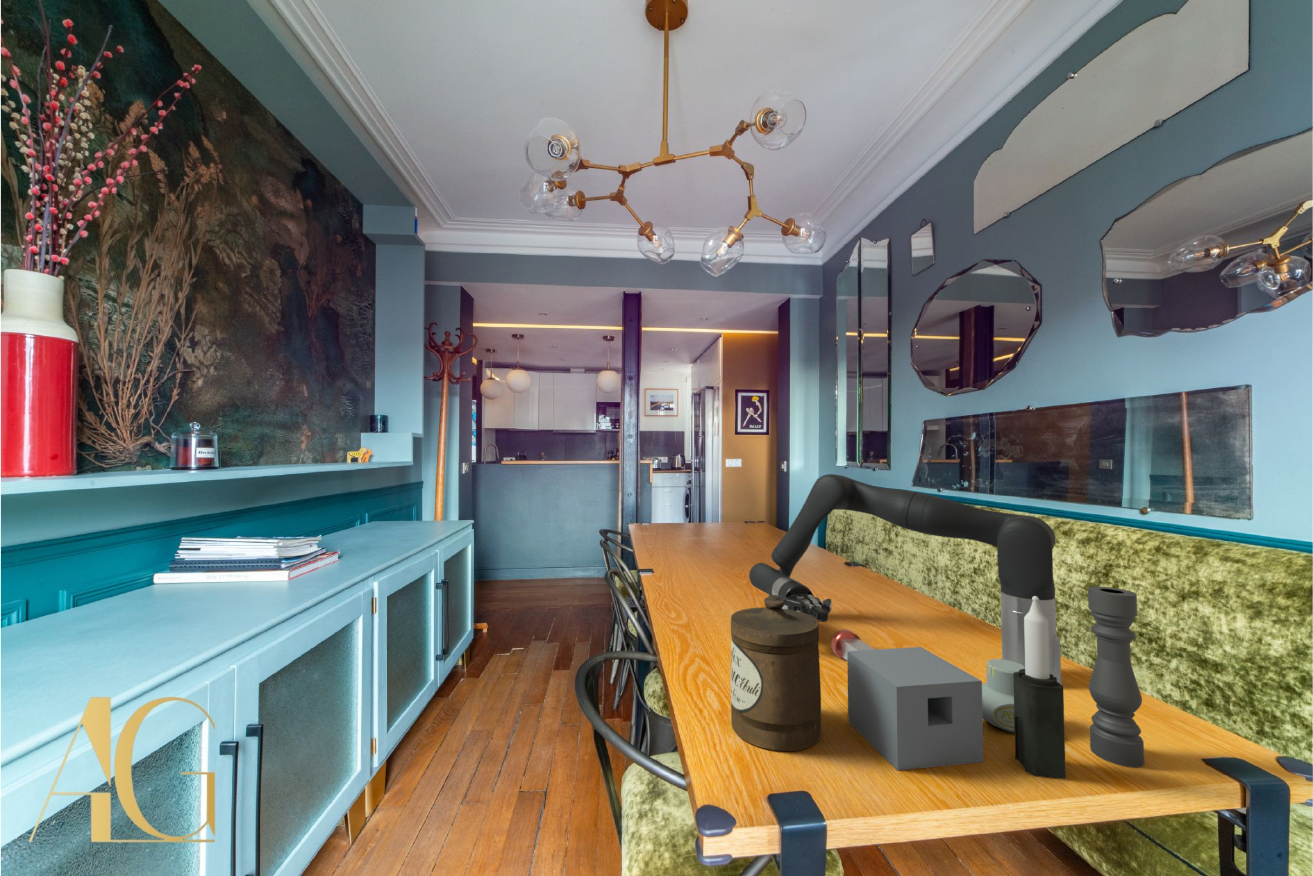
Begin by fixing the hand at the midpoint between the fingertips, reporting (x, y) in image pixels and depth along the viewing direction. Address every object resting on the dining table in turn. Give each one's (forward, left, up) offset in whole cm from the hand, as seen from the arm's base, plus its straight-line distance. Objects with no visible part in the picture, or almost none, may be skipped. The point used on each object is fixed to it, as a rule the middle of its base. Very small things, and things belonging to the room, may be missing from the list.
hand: (824, 617), depth 113 cm
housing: (-15, +25, -11) cm, 31 cm away
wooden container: (+6, +29, -11) cm, 32 cm away
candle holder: (-44, +18, -11) cm, 49 cm away
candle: (-32, +26, -11) cm, 43 cm away
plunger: (-9, +16, -6) cm, 19 cm away
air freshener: (-31, +13, -11) cm, 35 cm away
